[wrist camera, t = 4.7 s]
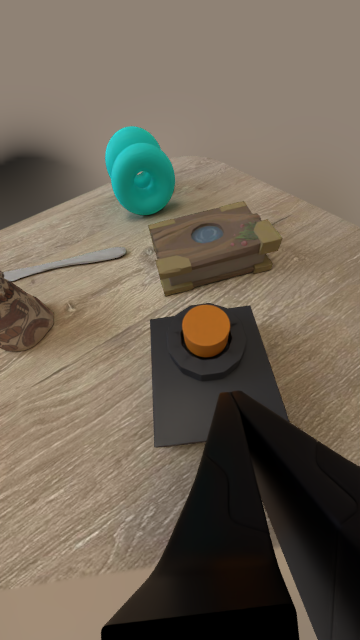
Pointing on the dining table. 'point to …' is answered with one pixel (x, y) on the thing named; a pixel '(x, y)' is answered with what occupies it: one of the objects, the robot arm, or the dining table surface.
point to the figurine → (21, 318)
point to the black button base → (205, 376)
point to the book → (212, 246)
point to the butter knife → (67, 262)
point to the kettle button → (206, 330)
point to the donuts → (133, 157)
